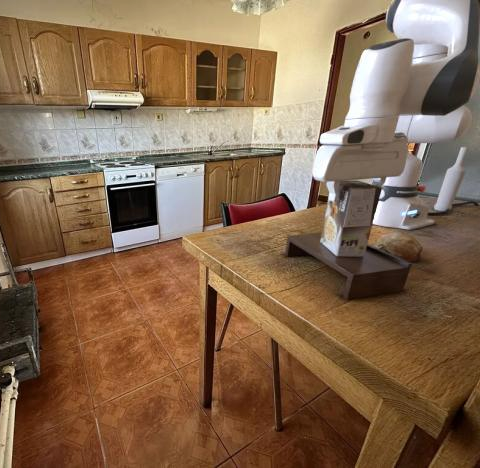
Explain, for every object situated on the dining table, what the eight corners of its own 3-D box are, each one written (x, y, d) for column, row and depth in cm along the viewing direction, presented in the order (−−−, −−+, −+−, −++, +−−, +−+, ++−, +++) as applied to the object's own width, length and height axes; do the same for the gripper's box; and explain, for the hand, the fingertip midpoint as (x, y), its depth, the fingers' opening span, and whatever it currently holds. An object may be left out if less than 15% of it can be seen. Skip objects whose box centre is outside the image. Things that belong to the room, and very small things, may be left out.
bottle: (439, 211, 106) (463, 147, 97) (430, 208, 111) (451, 147, 101) (454, 211, 105) (479, 147, 96) (443, 208, 110) (466, 146, 101)
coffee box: (365, 257, 59) (384, 187, 53) (336, 257, 59) (351, 188, 53) (344, 241, 67) (358, 179, 61) (318, 241, 68) (330, 180, 62)
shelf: (327, 249, 76) (332, 228, 74) (402, 290, 56) (412, 263, 54) (284, 255, 74) (287, 233, 72) (347, 299, 54) (354, 271, 52)
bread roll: (367, 260, 77) (365, 240, 73) (389, 241, 78) (389, 220, 75) (406, 275, 68) (407, 253, 64) (431, 253, 70) (433, 231, 66)
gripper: (394, 132, 58) (378, 192, 63) (313, 135, 55) (303, 199, 60) (425, 131, 52) (404, 198, 57) (336, 135, 49) (323, 205, 54)
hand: (352, 198), depth 58 cm, fingers open, 8 cm apart
